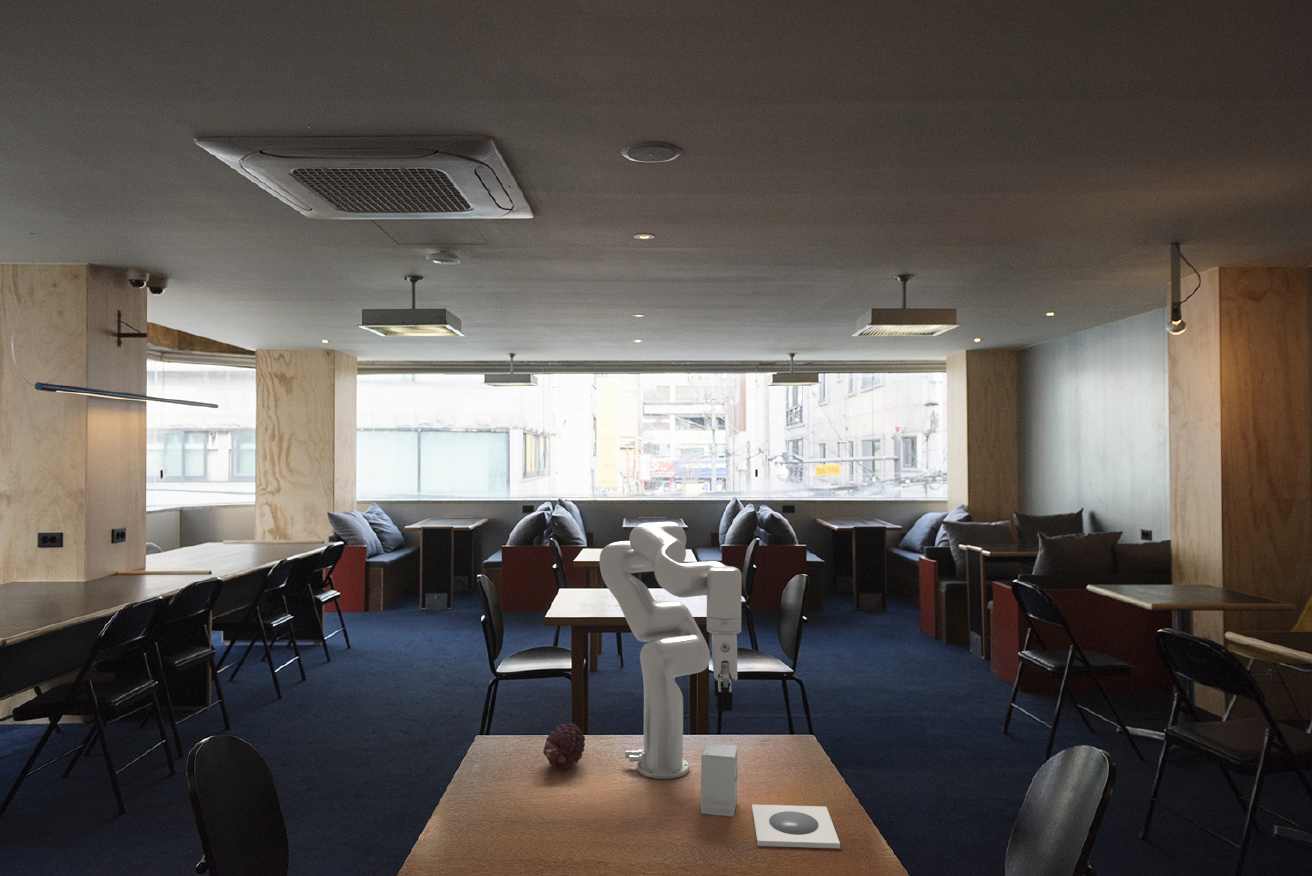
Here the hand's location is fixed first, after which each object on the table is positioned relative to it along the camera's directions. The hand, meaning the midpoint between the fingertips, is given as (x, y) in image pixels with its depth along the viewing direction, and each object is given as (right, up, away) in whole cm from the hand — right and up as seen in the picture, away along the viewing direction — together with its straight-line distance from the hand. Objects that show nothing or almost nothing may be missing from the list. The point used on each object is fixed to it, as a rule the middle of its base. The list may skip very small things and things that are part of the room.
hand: (723, 703), depth 173 cm
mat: (+14, -23, -9) cm, 28 cm away
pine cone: (-37, -23, +22) cm, 49 cm away
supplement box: (-1, -23, 0) cm, 23 cm away
